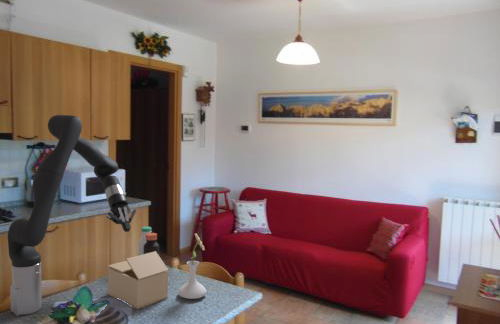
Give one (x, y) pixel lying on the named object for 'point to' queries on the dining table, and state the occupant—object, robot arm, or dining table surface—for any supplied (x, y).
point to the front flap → (146, 265)
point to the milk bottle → (143, 240)
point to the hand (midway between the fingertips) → (127, 230)
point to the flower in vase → (193, 279)
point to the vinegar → (151, 243)
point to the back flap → (121, 267)
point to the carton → (137, 288)
